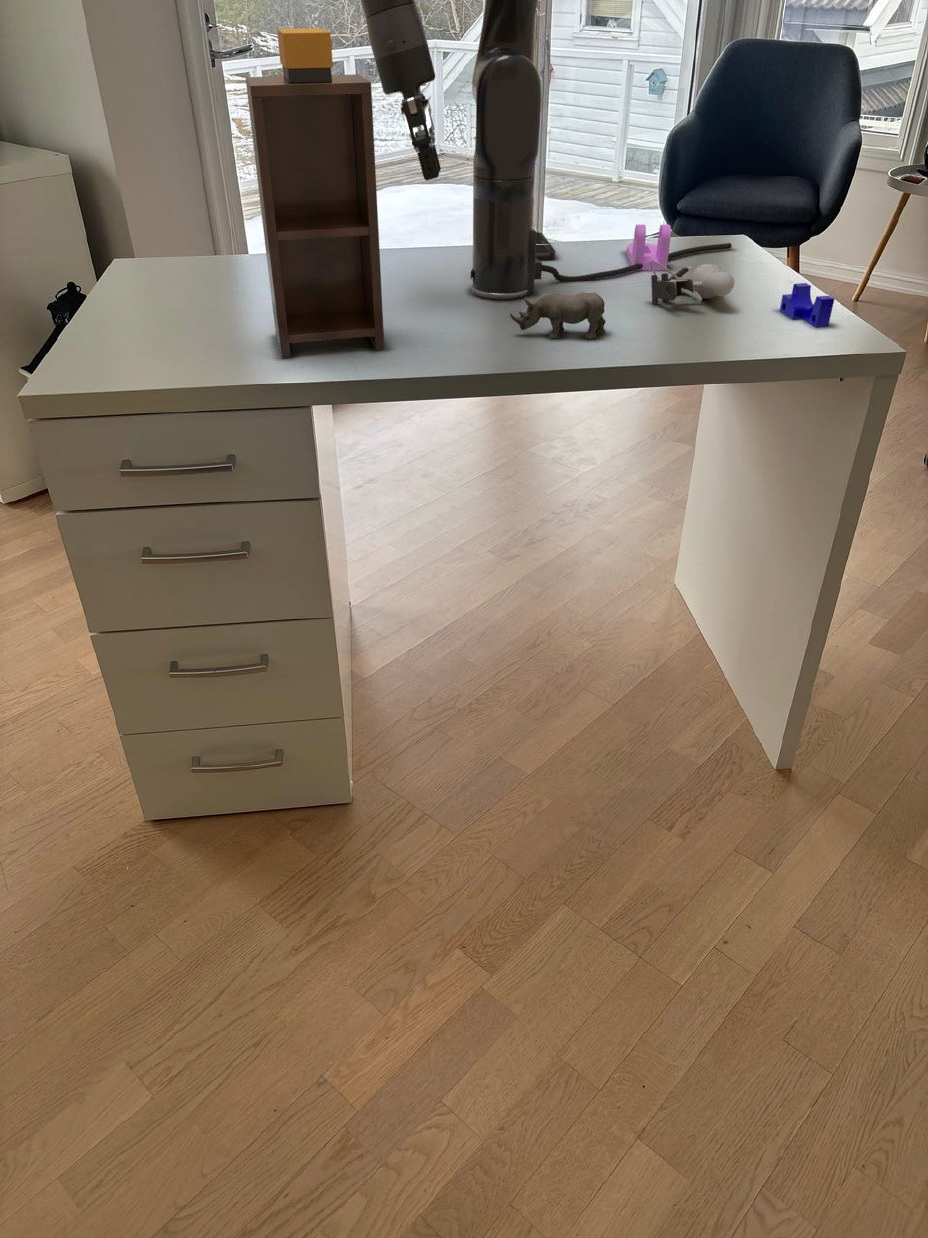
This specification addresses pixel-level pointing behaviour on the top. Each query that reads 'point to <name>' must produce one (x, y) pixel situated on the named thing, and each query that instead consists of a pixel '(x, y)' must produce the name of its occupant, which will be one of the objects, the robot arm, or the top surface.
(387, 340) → the top surface
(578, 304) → the rhino figurine
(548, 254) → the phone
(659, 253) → the bracket
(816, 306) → the cable holder
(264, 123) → the shelf
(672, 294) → the clip-on lamp
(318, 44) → the brush
